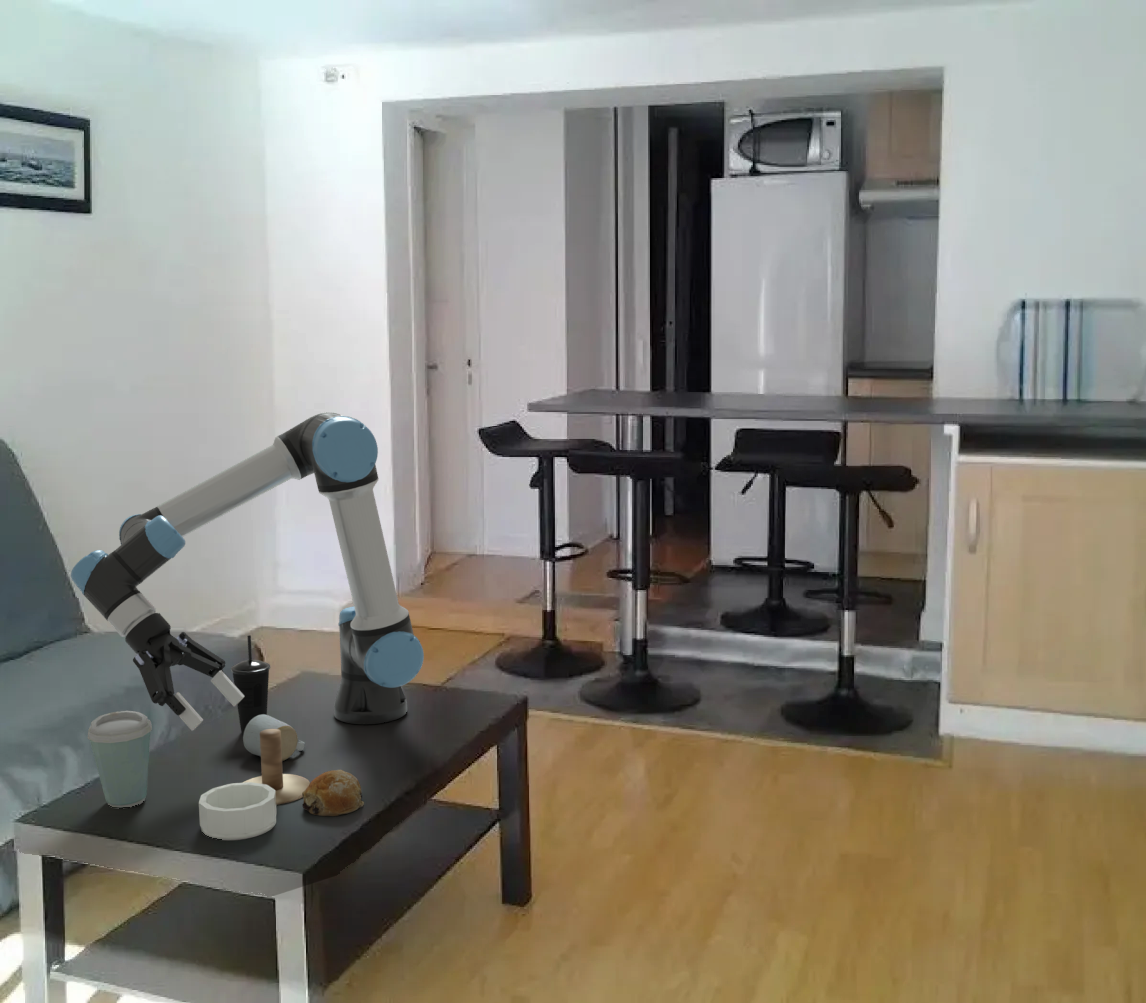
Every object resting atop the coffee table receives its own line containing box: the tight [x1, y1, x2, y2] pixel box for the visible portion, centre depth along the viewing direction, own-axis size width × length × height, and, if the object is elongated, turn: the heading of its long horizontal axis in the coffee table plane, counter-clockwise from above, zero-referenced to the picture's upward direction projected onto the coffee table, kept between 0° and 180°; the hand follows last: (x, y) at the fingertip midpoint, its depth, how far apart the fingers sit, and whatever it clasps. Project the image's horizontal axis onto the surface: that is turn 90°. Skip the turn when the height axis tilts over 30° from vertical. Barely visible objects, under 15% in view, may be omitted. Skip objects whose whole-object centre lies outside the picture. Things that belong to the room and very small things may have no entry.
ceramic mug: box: [242, 714, 306, 762], centre depth 242 cm, size 11×8×8 cm
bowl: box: [198, 782, 277, 841], centre depth 210 cm, size 12×12×5 cm
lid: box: [241, 729, 311, 806], centre depth 224 cm, size 13×13×11 cm
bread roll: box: [301, 769, 365, 817], centre depth 218 cm, size 10×10×8 cm
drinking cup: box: [230, 635, 271, 736], centre depth 254 cm, size 8×8×20 cm
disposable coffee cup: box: [87, 710, 153, 808], centre depth 219 cm, size 11×11×15 cm
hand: (219, 713), depth 225 cm, fingers open, 13 cm apart
